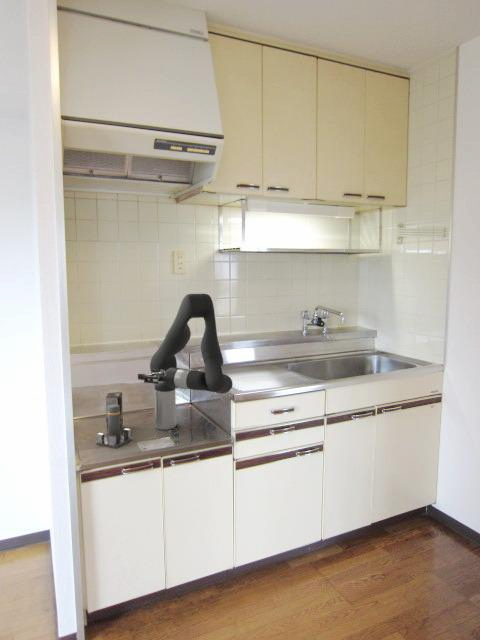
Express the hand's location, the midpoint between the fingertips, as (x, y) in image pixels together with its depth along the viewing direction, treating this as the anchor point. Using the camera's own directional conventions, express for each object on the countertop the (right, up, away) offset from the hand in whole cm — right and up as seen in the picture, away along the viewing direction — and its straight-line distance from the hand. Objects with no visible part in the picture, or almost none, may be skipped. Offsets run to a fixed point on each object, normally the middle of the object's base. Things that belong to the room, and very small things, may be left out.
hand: (145, 374), depth 176 cm
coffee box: (-18, -28, +24) cm, 41 cm away
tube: (-15, -28, +10) cm, 33 cm away
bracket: (-15, -29, +10) cm, 34 cm away
